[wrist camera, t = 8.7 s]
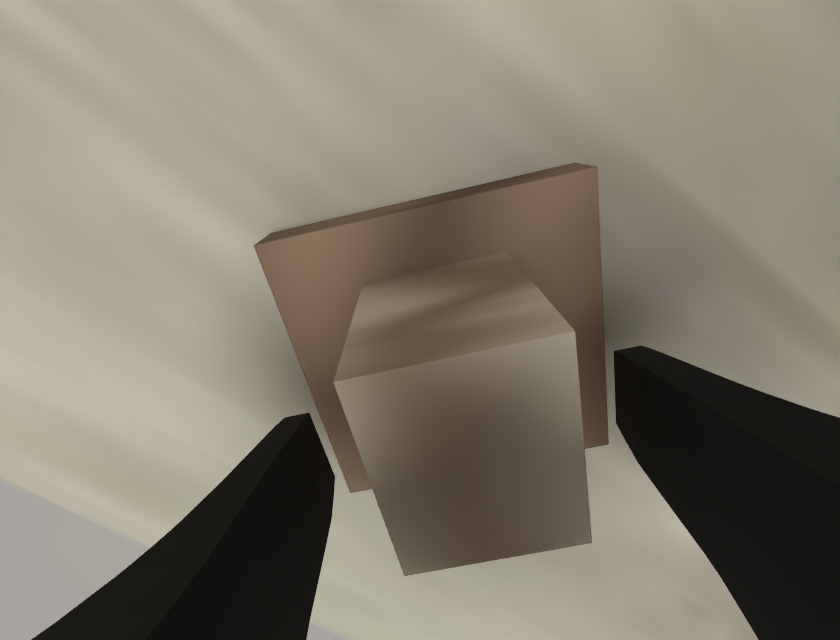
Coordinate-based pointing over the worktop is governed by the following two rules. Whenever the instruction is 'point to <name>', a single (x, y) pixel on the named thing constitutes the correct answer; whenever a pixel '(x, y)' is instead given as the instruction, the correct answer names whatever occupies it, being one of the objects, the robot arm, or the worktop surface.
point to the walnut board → (436, 246)
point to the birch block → (467, 414)
